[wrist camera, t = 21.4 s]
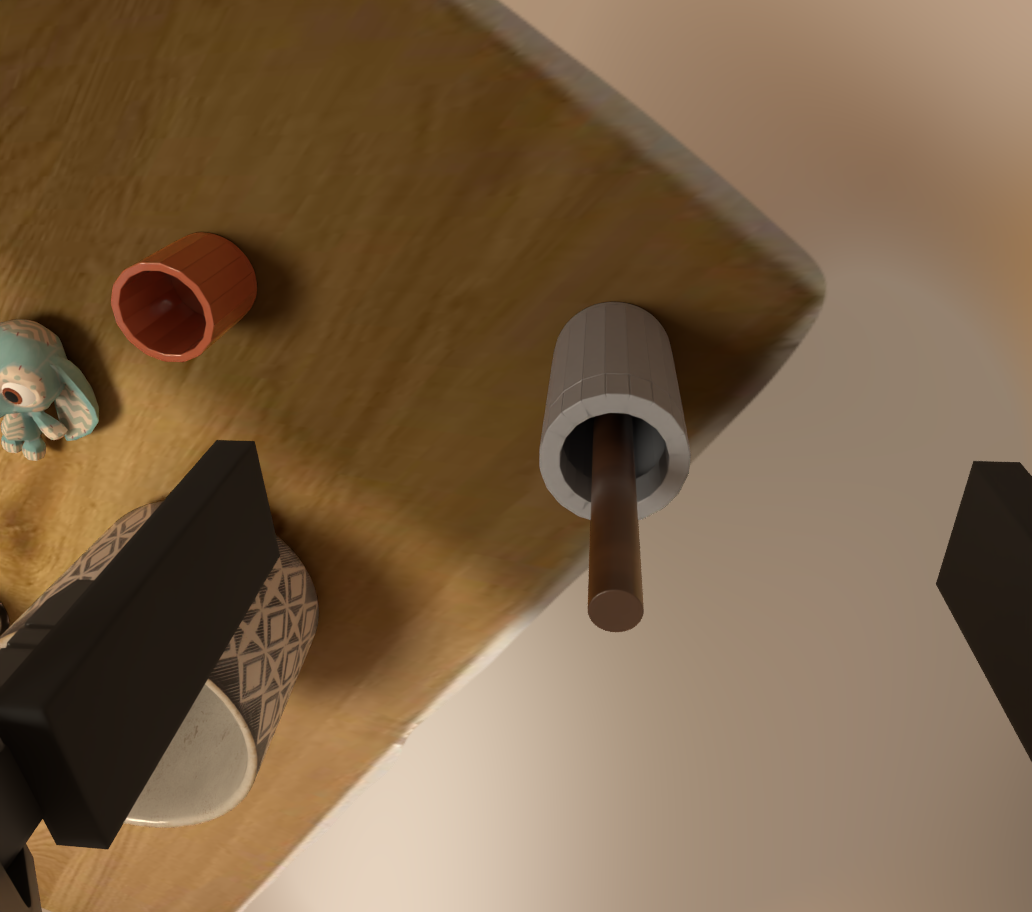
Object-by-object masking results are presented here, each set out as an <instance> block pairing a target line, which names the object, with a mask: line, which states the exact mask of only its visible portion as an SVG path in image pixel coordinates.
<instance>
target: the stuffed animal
mask: <svg viewBox="0 0 1032 912" xmlns="http://www.w3.org/2000/svg"><path fill="white" fill-rule="evenodd" d="M53 401H54V403H55V407H56V411H57V414H58V417H59V421H60V422H59V421H58V420H56V419H55V418H53V417H52V416H50V415H48V414H47V413H45V412H44V411H43V410H46V409H48V408H49V406H50V405H51V403H52V402H53ZM4 415H5V416H4ZM3 416H4V418H3V421H2V423H1V431H2V434H3V436H2V441H1V443H2V446H3V448H4V449H5V450H6V451H8V452H12V453H18V452H20V451H22V452H23V454H24V456H25V457H26V458H27V459H29V460H34V461H38V460H40V459H42V458H44V456H45V453H46V445H45V442H44V441H43V440H42V438H41V437H40V435H41V434H42V432H43V433H44V434H45V435H46V436H47V437H48V438H50V439H51V440H58V439H60V438H62V437H63V436H65V438H66V440H67V441H70V440H77V439H79V438H81V437H83V436H86V435H88V434H90V433H91V432H92V431H93V429H94V428H95V426H96V425H97V423H98V421H99V406H98V403H97V400H96V397H95V395H94V392H93V389H92V387H91V386H90V384H89V383H88V381H87V380H86V378H85V377H84V375H83V373H82V372H81V370H80V369H79V368H77V367H76V366H75V365H74V364H73V363H72V362H71V361H69V360H67V357H66V355H65V352H64V349H63V346H62V343H61V341H60V339H59V337H58V336H57V335H55V334H54V333H53V332H52V331H50V330H49V329H47V328H46V327H44V326H42V325H41V324H39V323H37V322H34V321H30V320H23V319H15V320H11V321H6V322H1V323H0V418H1V417H3Z"/></svg>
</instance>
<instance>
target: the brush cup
mask: <svg viewBox="0 0 1032 912" xmlns="http://www.w3.org/2000/svg"><path fill="white" fill-rule="evenodd" d="M256 295H257V280H256V276H255V272H254V269H253V267H252V265H251V263H250V261H249V260H248V258H247V257H246V255H245V254H244V253H243V252H242V251H241V250H240V249H239V248H238V247H237V246H236V245H235V244H233V243H232V242H230V241H229V240H227V239H225V238H223V237H221V236H218V235H215V234H211V233H204V232H200V233H193V234H189V235H187V236H184V237H183V238H181V239H179V240H176V241H174V242H173V243H171V244H169V245H167V246H166V247H164V248H162V249H160V250H158V251H157V252H155V253H153V254H151V255H149V256H148V257H146V258H144V259H142V260H141V261H139V262H137V263H135V264H133V265H132V266H130V267H128V268H126V269H125V270H123V271H122V273H121V274H120V276H119V277H118V278H117V280H116V281H115V283H114V285H113V290H112V297H111V306H112V309H113V313H114V317H115V320H116V322H117V325H118V326H119V327H120V329H121V330H122V332H123V333H124V335H125V336H126V338H127V339H128V340H129V341H130V342H131V343H132V344H133V345H135V346H136V347H137V348H138V349H140V350H141V351H142V352H143V353H145V354H147V355H149V356H152V357H154V358H157V359H159V360H162V361H166V362H185V361H188V360H190V359H193V358H195V357H197V356H200V355H201V354H202V353H203V352H204V351H205V350H207V349H208V348H209V347H210V346H211V345H212V344H213V343H215V342H216V341H217V340H218V339H219V338H220V337H221V336H223V335H224V334H225V333H226V332H227V331H228V330H229V329H231V328H232V327H233V326H234V325H235V324H236V323H237V322H239V321H240V320H241V319H242V318H243V317H244V315H245V314H247V312H248V311H249V310H250V309H251V308H252V306H253V304H254V302H255V299H256Z"/></svg>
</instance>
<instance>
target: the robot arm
mask: <svg viewBox="0 0 1032 912" xmlns="http://www.w3.org/2000/svg"><path fill="white" fill-rule="evenodd" d="M279 557H280V552H279V547H278V543H277V539H276V534H275V530H274V525H273V521H272V516H271V512H270V507H269V503H268V499H267V494H266V490H265V485H264V481H263V476H262V472H261V467H260V463H259V459H258V454H257V450H256V445H255V441H226V440H216V442H215V443H214V444H213V445H212V446H211V447H210V448H209V450H208V451H207V452H206V453H205V454H204V455H203V456H202V458H201V459H200V460H199V461H198V462H197V463H196V464H195V466H194V467H193V468H192V469H191V470H190V471H189V472H188V474H187V475H186V476H185V477H184V478H183V479H182V480H181V482H180V483H179V484H178V485H177V486H176V487H175V488H174V490H173V491H172V492H171V493H170V494H169V495H168V496H167V498H166V499H165V500H164V501H163V502H162V503H161V504H160V506H159V507H158V508H157V509H156V510H155V511H154V512H153V514H152V515H151V516H150V517H149V518H148V519H147V520H146V522H145V523H144V524H143V525H142V526H141V527H140V528H139V530H138V531H137V532H136V533H135V534H134V535H133V536H132V538H131V539H130V540H129V541H128V542H127V543H126V544H125V546H124V547H123V548H122V549H121V550H120V551H119V552H118V554H117V555H116V556H115V557H114V558H113V559H112V560H111V562H110V563H109V564H108V565H107V566H106V567H105V568H104V570H103V571H102V572H101V573H100V574H99V575H98V576H97V578H96V579H95V580H80V579H77V580H76V581H74V582H73V583H71V584H70V585H68V586H67V587H65V588H64V589H62V590H60V591H59V592H57V593H56V594H54V595H53V596H51V597H50V598H48V599H47V600H46V601H45V602H44V603H43V604H42V605H41V606H40V607H39V608H38V609H37V610H36V612H35V613H34V614H33V615H32V616H31V617H30V618H29V619H28V620H27V621H26V622H25V626H24V628H20V629H19V630H18V631H17V632H16V633H15V634H14V635H13V636H12V637H11V639H10V640H9V641H8V642H7V646H6V648H1V649H0V912H42V910H41V903H40V897H39V891H38V884H37V878H36V872H35V866H34V859H33V856H32V854H31V852H30V850H29V849H28V847H27V845H26V842H27V840H28V839H29V838H30V836H31V835H32V833H33V832H34V830H35V829H36V827H37V826H38V824H39V823H40V822H41V820H42V819H43V820H44V822H45V824H46V826H47V828H48V829H49V831H50V833H51V835H52V837H53V839H54V841H55V843H56V845H64V846H76V847H87V848H99V849H109V847H110V845H111V844H112V842H113V840H114V838H115V837H116V835H117V833H118V832H119V830H120V828H121V826H122V825H123V823H124V821H125V820H126V818H127V816H128V815H129V813H130V811H131V809H132V808H133V806H134V804H135V803H136V801H137V799H138V797H139V796H140V794H141V792H142V791H143V789H144V787H145V786H146V784H147V782H148V780H149V779H150V777H151V775H152V774H153V772H154V770H155V768H156V767H157V765H158V763H159V762H160V760H161V758H162V757H163V755H164V753H165V751H166V750H167V748H168V746H169V745H170V743H171V741H172V739H173V738H174V736H175V734H176V733H177V731H178V729H179V728H180V726H181V724H182V722H183V721H184V719H185V717H186V716H187V714H188V712H189V710H190V709H191V707H192V705H193V704H194V702H195V700H196V699H197V697H198V695H199V693H200V692H201V690H202V688H203V687H204V685H205V683H206V681H207V680H208V678H209V676H210V675H211V673H212V671H213V670H214V668H215V666H216V664H217V663H218V661H219V659H220V658H221V656H222V654H223V652H224V651H225V649H226V647H227V646H228V644H229V642H230V641H231V639H232V637H233V635H234V634H235V632H236V630H237V629H238V627H239V625H240V623H241V622H242V620H243V618H244V617H245V615H246V613H247V612H248V610H249V608H250V606H251V605H252V603H253V601H254V600H255V598H256V596H257V594H258V593H259V591H260V589H261V588H262V586H263V584H264V583H265V581H266V579H267V577H268V576H269V574H270V572H271V571H272V569H273V567H274V565H275V564H276V562H277V560H278V559H279ZM936 585H937V587H938V589H939V591H940V592H941V594H942V596H943V598H944V600H945V602H946V604H947V605H948V607H949V609H950V611H951V613H952V615H953V617H954V618H955V620H956V622H957V624H958V626H959V628H960V630H961V631H962V633H963V635H964V637H965V639H966V640H967V643H968V644H969V646H970V648H971V650H972V652H973V654H974V656H975V657H976V659H977V661H978V663H979V665H980V667H981V669H982V670H983V672H984V674H985V676H986V678H987V679H988V681H989V683H990V685H991V687H992V689H993V691H994V693H995V694H996V696H997V698H998V700H999V702H1000V704H1001V706H1002V708H1003V709H1004V711H1005V713H1006V715H1007V717H1008V718H1009V721H1010V722H1011V724H1012V726H1013V728H1014V730H1015V732H1016V734H1017V735H1018V737H1019V739H1020V741H1021V743H1022V745H1023V746H1024V748H1025V750H1026V752H1027V754H1028V755H1029V758H1030V760H1031V761H1032V476H1031V475H1030V474H1029V473H1028V471H1027V470H1026V469H1025V468H1024V467H1023V465H1022V464H1021V463H1020V462H986V461H984V462H983V461H973V464H972V468H971V471H970V474H969V477H968V481H967V484H966V487H965V491H964V494H963V497H962V500H961V504H960V507H959V510H958V513H957V517H956V520H955V523H954V527H953V530H952V533H951V537H950V540H949V543H948V546H947V550H946V553H945V556H944V559H943V563H942V566H941V569H940V572H939V576H938V579H937V582H936Z"/></svg>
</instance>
